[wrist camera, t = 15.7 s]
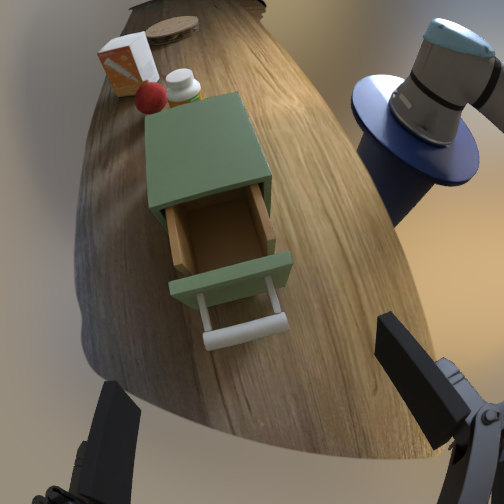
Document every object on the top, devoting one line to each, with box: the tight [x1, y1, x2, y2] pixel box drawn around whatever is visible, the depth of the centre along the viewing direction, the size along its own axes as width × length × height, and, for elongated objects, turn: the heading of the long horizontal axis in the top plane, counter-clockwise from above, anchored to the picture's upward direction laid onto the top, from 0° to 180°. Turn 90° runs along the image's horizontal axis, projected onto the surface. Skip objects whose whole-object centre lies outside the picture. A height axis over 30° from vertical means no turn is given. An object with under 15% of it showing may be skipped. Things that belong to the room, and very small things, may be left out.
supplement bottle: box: [166, 69, 203, 108], centre depth 37 cm, size 5×5×10 cm
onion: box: [135, 79, 167, 114], centre depth 39 cm, size 6×6×8 cm
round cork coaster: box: [145, 16, 199, 45], centre depth 55 cm, size 16×16×3 cm
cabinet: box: [145, 92, 272, 234], centre depth 31 cm, size 14×12×11 cm
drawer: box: [165, 183, 293, 351], centre depth 27 cm, size 18×10×9 cm, turn 15°
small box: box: [97, 32, 159, 97], centre depth 40 cm, size 8×6×13 cm
